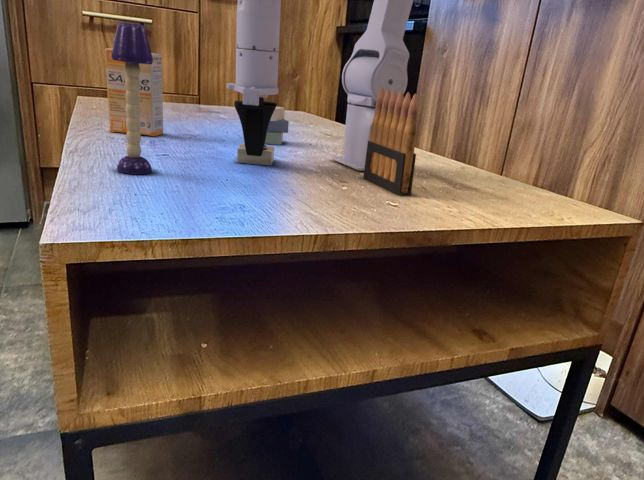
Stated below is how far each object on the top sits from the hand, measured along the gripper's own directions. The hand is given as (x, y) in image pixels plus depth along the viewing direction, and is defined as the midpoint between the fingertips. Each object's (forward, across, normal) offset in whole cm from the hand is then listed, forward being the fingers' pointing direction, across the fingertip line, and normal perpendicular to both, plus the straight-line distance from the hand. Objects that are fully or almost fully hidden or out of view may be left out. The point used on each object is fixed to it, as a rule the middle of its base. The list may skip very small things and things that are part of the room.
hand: (254, 155), depth 86 cm
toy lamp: (+2, +12, -14) cm, 18 cm away
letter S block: (+1, -3, 0) cm, 4 cm away
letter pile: (+1, -25, 0) cm, 25 cm away
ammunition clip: (+2, +7, +19) cm, 20 cm away
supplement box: (+2, -22, -23) cm, 32 cm away
